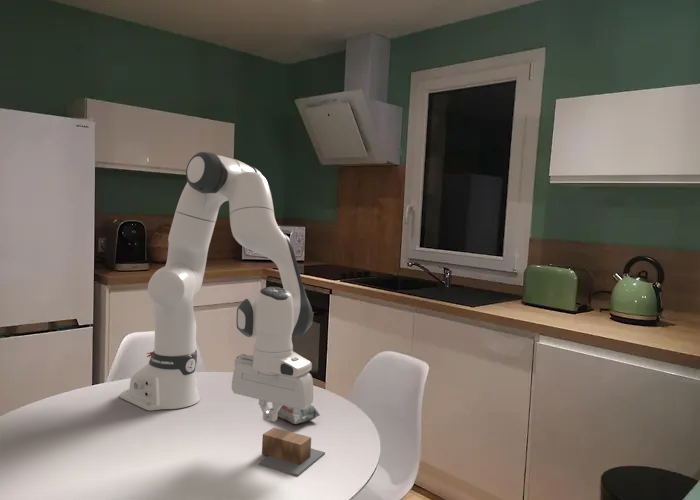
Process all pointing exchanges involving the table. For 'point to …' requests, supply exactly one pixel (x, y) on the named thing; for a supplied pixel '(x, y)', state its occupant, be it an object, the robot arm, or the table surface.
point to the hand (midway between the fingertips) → (269, 419)
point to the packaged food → (297, 414)
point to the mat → (289, 466)
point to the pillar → (286, 445)
